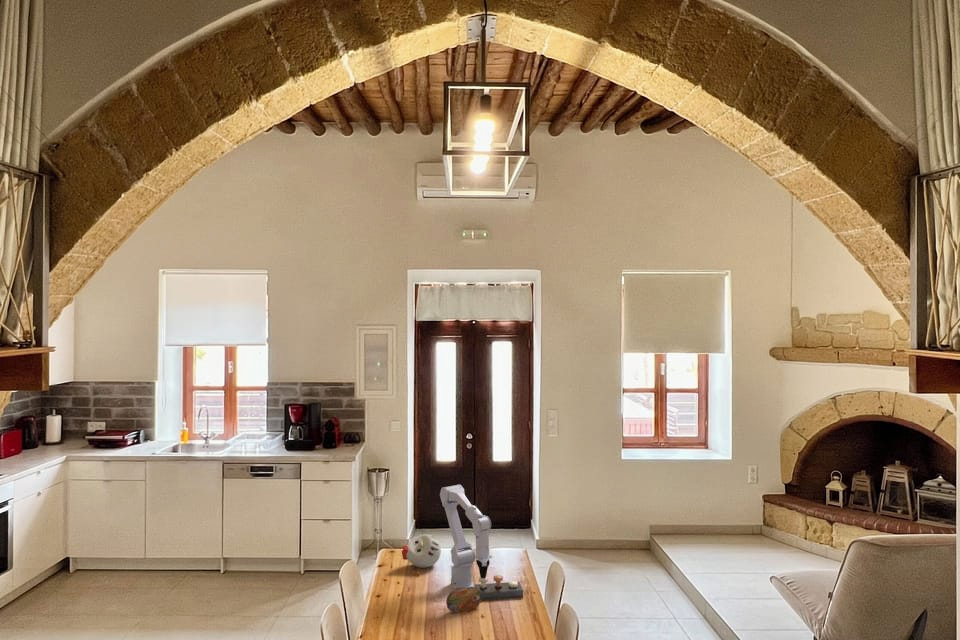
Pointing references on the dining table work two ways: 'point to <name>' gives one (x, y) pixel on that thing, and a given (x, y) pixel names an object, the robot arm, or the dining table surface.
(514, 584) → the knob
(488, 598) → the knob plate
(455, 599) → the multicolored oval slab
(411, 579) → the dining table surface
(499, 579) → the middle knob
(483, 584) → the knob
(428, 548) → the decorative object
